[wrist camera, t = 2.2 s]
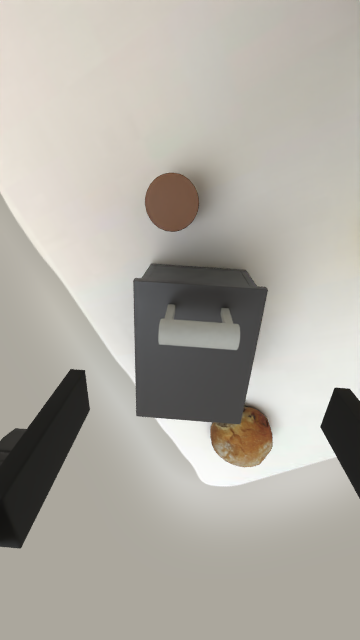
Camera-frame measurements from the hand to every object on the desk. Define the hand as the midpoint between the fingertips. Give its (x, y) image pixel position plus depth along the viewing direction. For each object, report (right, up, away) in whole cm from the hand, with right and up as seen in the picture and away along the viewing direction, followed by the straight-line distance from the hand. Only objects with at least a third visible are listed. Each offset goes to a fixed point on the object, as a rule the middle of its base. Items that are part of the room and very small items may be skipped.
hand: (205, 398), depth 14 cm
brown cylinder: (-2, +18, +17) cm, 25 cm away
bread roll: (+9, -14, +31) cm, 35 cm away
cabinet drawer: (0, 0, +14) cm, 14 cm away
